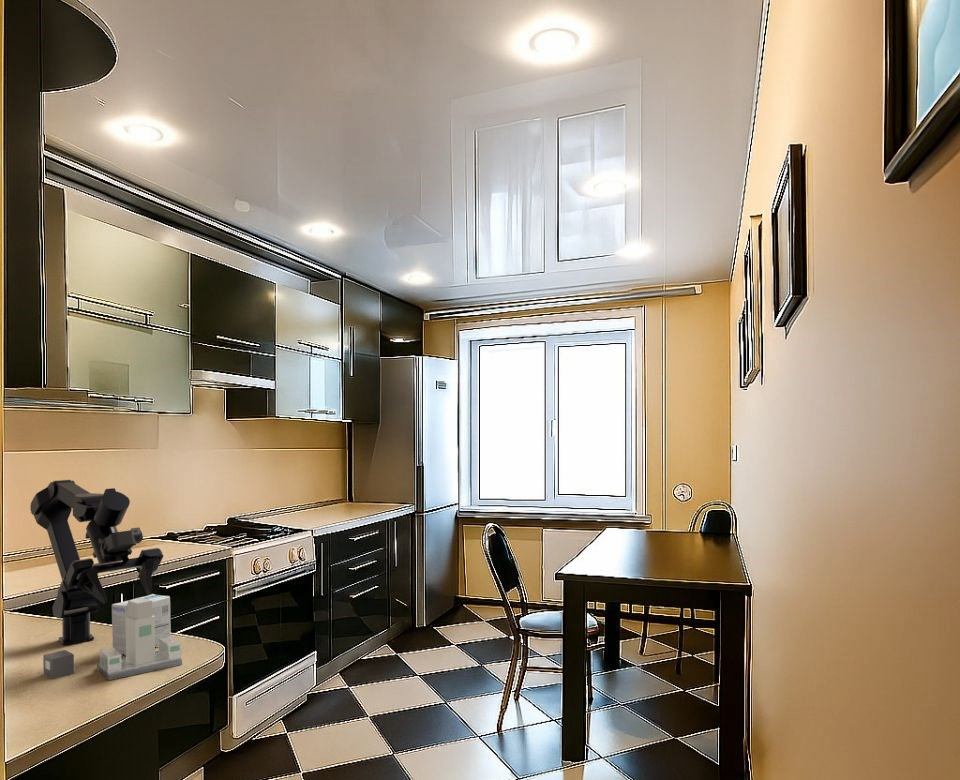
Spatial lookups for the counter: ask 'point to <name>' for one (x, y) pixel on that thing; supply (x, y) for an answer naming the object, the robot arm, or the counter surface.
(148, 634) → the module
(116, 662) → the mounting plate
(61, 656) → the block
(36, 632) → the counter surface
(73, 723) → the counter surface
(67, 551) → the robot arm
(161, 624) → the light bulb box
